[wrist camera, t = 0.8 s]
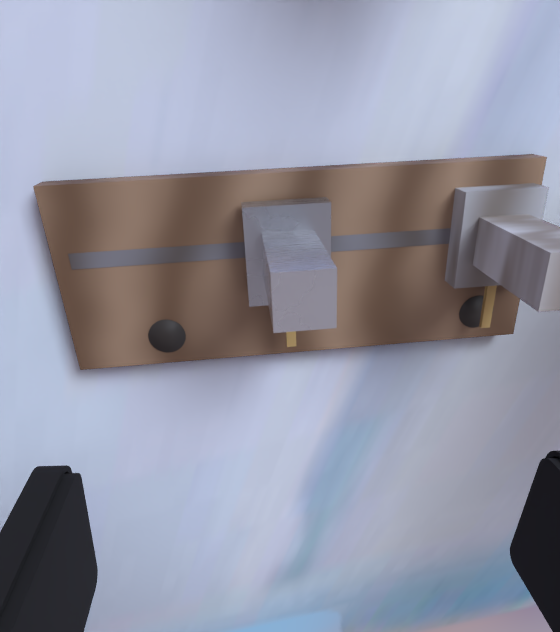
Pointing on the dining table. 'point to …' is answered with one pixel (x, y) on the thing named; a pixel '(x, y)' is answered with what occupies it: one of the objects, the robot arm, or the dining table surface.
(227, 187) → the wooden board with posts
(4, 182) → the dining table surface
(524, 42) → the dining table surface
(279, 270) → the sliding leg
